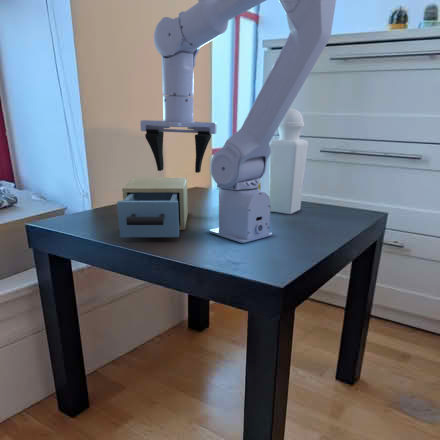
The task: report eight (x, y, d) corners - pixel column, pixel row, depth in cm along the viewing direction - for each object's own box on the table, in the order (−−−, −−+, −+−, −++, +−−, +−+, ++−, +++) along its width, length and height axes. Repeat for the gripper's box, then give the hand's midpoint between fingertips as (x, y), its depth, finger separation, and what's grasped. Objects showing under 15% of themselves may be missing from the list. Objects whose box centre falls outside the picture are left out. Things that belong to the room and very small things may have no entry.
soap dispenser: (265, 211, 97) (270, 108, 88) (278, 206, 102) (284, 108, 93) (291, 215, 94) (299, 108, 85) (303, 209, 99) (311, 108, 90)
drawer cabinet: (184, 230, 82) (183, 188, 79) (125, 230, 82) (121, 188, 79) (187, 213, 95) (186, 177, 91) (136, 214, 94) (133, 177, 91)
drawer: (177, 244, 70) (175, 207, 68) (115, 245, 70) (111, 207, 67) (182, 220, 86) (181, 189, 83) (131, 220, 86) (129, 189, 83)
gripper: (133, 94, 75) (138, 172, 81) (213, 97, 74) (212, 175, 79) (145, 95, 82) (148, 167, 87) (218, 97, 80) (216, 170, 86)
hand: (179, 171), depth 84 cm, fingers open, 7 cm apart
